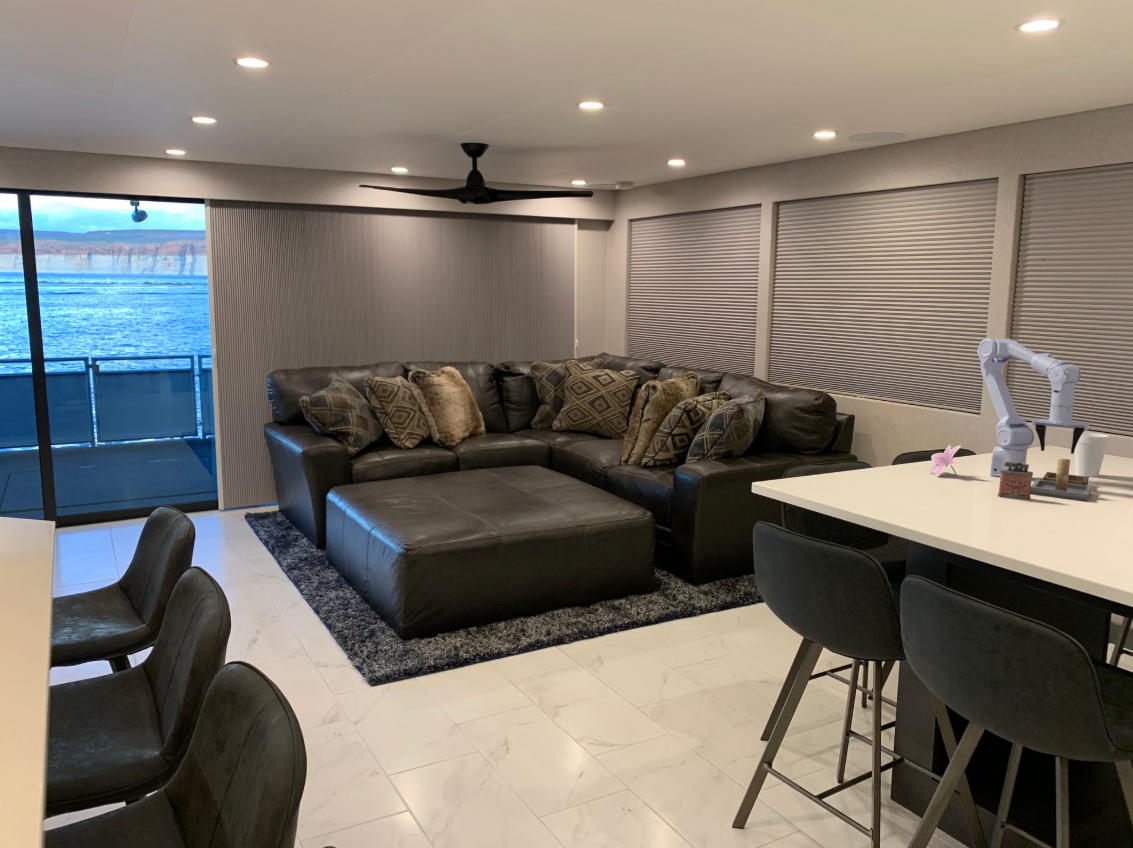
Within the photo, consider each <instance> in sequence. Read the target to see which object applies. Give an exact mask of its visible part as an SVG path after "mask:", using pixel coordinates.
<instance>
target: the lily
mask: <svg viewBox="0 0 1133 848" xmlns="http://www.w3.org/2000/svg"><path fill="white" fill-rule="evenodd" d="M961 446H962V445H960V444H959V445H957V446H954V447H953V448H952V447H951V444H949V445H948V446H947V447H946V449H945V450H944V452H938V453H937V452H935V453H934V454H932V455H931V457H930V458H931V460H932V462H933V463H934V465H933V466H932V467H931V468H930V470H929V471H928V472H929V473H928V474H930V473H933V472H934V474H935V477H936V478H938V477H940V474H941V473H942V472H943V469H945V468H946V467H951V468H952V470H953V472H954V474H955V476H957V473H956V470H955V468H954V467H953V466H956V461H955V460H954V458H953V457H954V455H955V454H956V453H957V452H958V451H959V449H960V448H961Z"/></svg>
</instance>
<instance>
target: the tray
mask: <svg viewBox="0 0 1133 848" xmlns="http://www.w3.org/2000/svg"><path fill="white" fill-rule="evenodd" d="M1055 483H1056V482H1054V481H1046V480H1043V479H1037V478H1036V479H1035V480H1034V482H1033V483H1032V484H1031V489H1030V495H1034V496H1042V497H1050V498H1058V499H1064V500H1065V499H1066V500H1073V501H1080V502H1086V503H1087V502H1088V501H1089V499H1090V496H1091V494H1092V485H1088V486H1086V485H1078V484H1070V483H1068V485H1067V491H1062V490H1055Z"/></svg>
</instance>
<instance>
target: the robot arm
mask: <svg viewBox="0 0 1133 848" xmlns="http://www.w3.org/2000/svg"><path fill="white" fill-rule="evenodd" d="M976 353H977V355H978V359H979V360H980V372H981V376H982V378H983V381H984V383H985V386H986V388H987V392H988V394H989V396H990V399H991V402H992V404H993V407H994V409H995V412H996V415H997V418H998V423H997V424H996V425H995V431H996V441H997V443H998V444H999V446H994V447H993V450H992V456H991V465H990V476H992V477H993V476H994V477H1001V473H1000V470H1001V469H1008V468H1009V467H1007V466H1004V462H1005V461H1006V462H1014V463H1016V462H1021V463H1022V464H1027V456H1028V455H1027V454H1028V450H1029V449H1030V446H1031V445H1032V444H1033V443H1034V442H1035V433H1034V430H1033V429H1032V428H1031V427H1030V426H1029V425H1028V422H1027V420H1026V419H1023V418H1022V417H1021V416H1020V415H1019V414H1018V411H1017V408H1016V406H1015V404H1014V401H1013V397H1012V396H1011V392H1010V390H1009V387H1008V385H1007V382H1006V380H1005V377H1004V375H1003V372H1002V370H1003V368H1004V367H1005V366H1006V365H1007V364H1008V363H1009V362H1010V361H1011V359H1012V357H1014V358H1015V359H1018V360H1020V361H1023V362H1024V363H1027V364H1029V365H1031V369H1032V371H1034V372H1036V373H1038V374H1040V375H1042V376H1044V377H1046V378H1048V380H1049V382H1050V388H1051V398H1050V409H1049V419H1048V418H1047V419H1045V418H1032V419H1031V426H1032V427H1033V426H1035V427H1034V429H1035V432H1036V434H1037V437H1038V440H1039V445H1040V451H1042V452H1044V451H1045V448H1046V444H1045V442H1046V441H1045V440H1046V432H1047V427H1049V428H1050V427H1051V428H1063V429H1073V433H1072V435H1073V436H1072V443H1071V444H1072V445H1071V448H1070V454H1071V455H1075V447H1076V445H1077V442H1078V440H1079V439H1080V437H1081V435H1082V433H1083V432H1085V431H1088V430H1089V428H1090V422H1083V421H1076V420H1075V421H1074V420H1073V411H1074V410H1073V409H1074V400H1075V399H1074V398H1075V389H1076V384H1077V383H1078V382H1080V379H1081V377H1082V374H1081V370H1080V368H1079V367H1078V366H1076V365H1075V364H1074V363H1072V364H1066V362H1065V361H1064V360H1058V359H1056V358H1054V357H1052V356H1053V355H1052V354H1051V353H1048V352H1047V353H1040V354H1038V353H1035V352H1034V351H1032V350H1031V349H1029V348H1027V347H1025V346H1024V345H1022V344H1020V343H1019V342H1018V341H1016V340H1013V339H1012V338H984V339H983V340H982V341H980V343H979V346H978V348H977V350H976ZM1011 468H1012V470H1013V468H1014V467H1011ZM1023 470H1024V468H1023ZM1024 471H1025V470H1024Z"/></svg>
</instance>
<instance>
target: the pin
mask: <svg viewBox="0 0 1133 848" xmlns="http://www.w3.org/2000/svg"><path fill="white" fill-rule="evenodd" d="M1070 465H1071V459H1068V458H1058V459H1057V465H1056V473H1057V474H1056V483H1055V490H1062V491H1067V485H1068V476H1069V475H1070Z"/></svg>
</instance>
